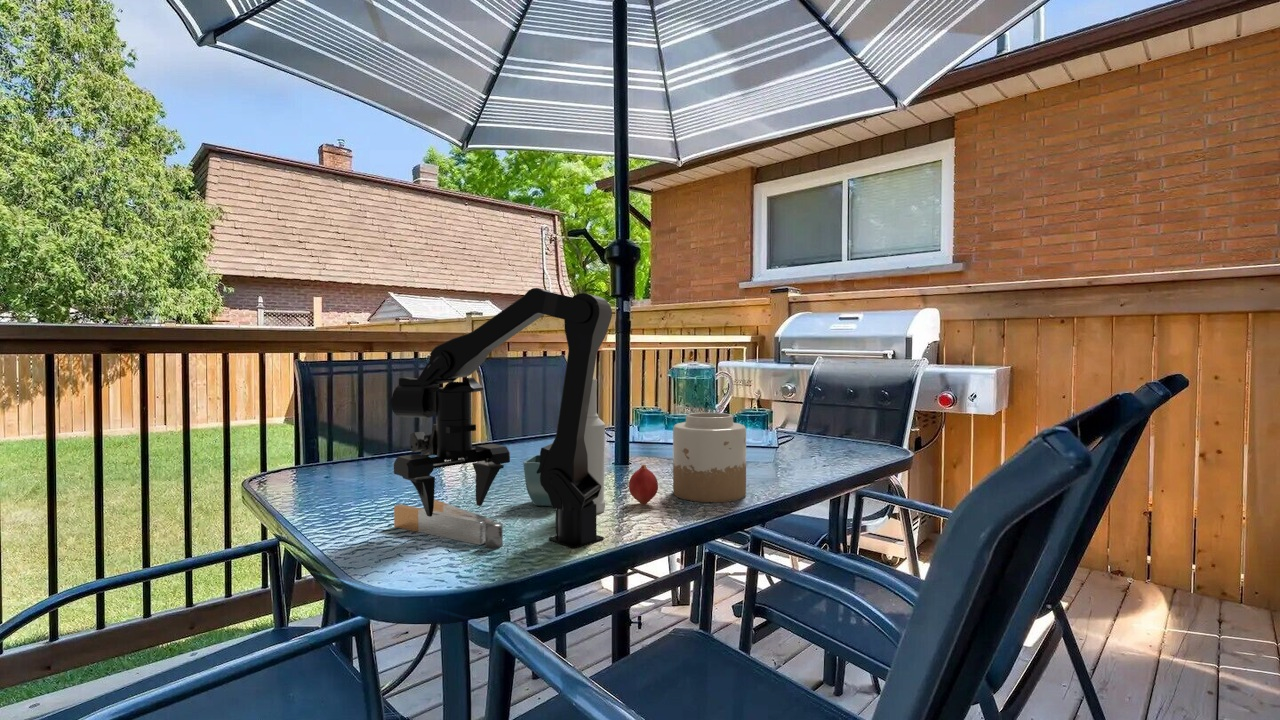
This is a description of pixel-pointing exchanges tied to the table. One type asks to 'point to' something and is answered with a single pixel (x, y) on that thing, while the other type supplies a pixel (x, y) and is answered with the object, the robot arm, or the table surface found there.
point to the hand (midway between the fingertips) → (455, 510)
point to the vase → (709, 458)
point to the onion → (643, 485)
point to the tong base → (491, 528)
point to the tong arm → (440, 524)
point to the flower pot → (535, 482)
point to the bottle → (595, 446)
